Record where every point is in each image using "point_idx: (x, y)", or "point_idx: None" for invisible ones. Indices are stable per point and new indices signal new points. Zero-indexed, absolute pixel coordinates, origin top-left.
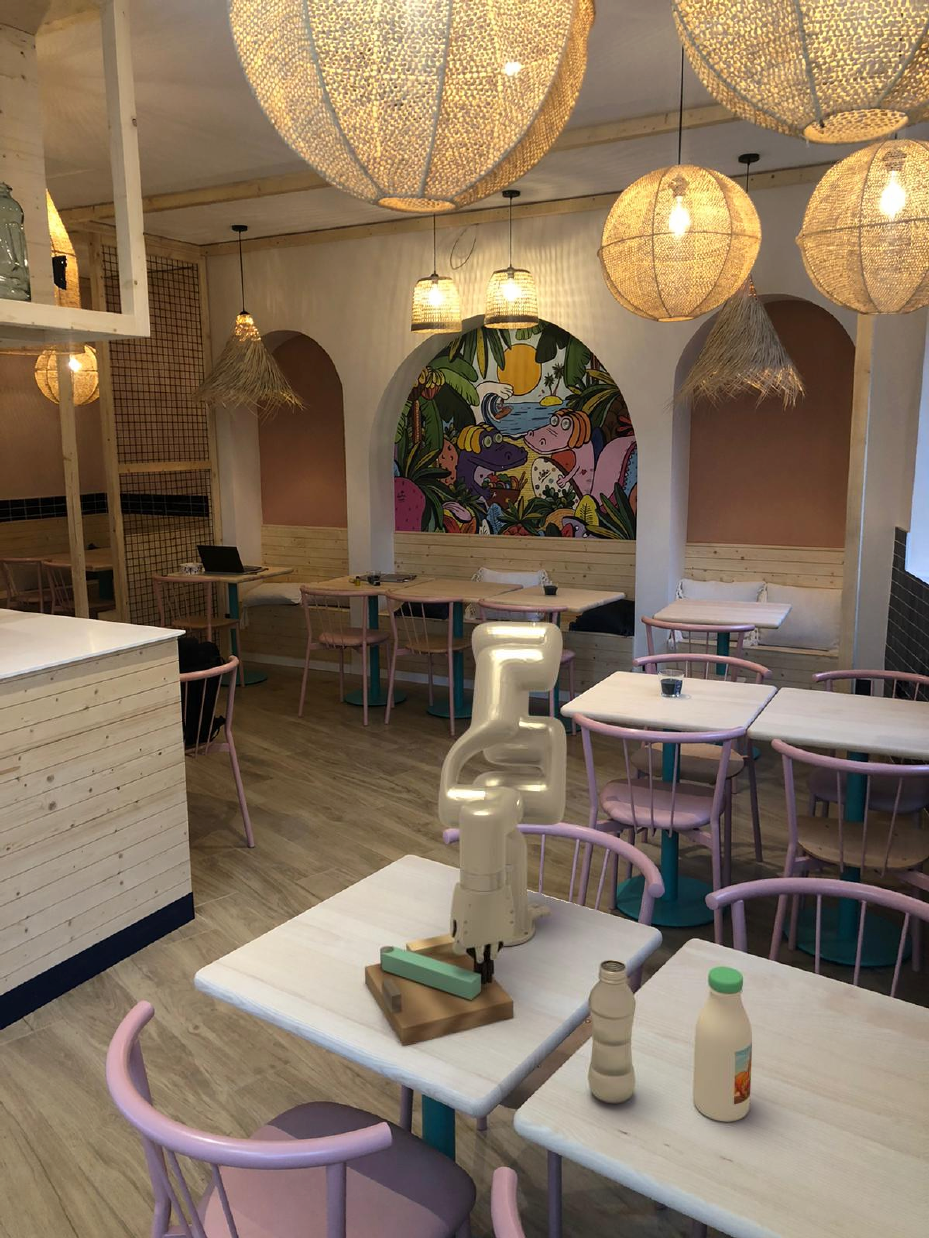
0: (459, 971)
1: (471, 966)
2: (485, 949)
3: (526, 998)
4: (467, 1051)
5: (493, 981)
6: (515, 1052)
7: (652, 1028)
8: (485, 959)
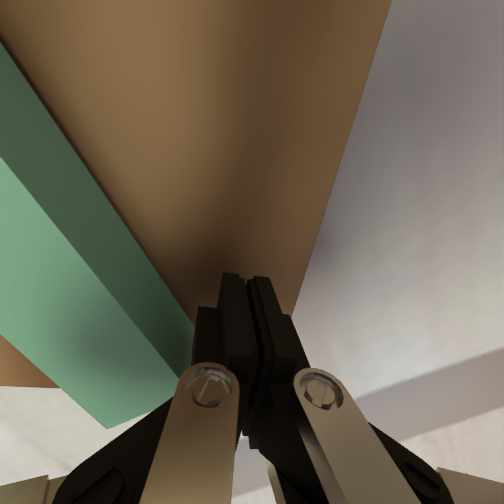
0: (92, 327)
1: (292, 115)
2: (295, 423)
3: (348, 300)
4: (72, 406)
5: (288, 282)
6: None
7: (437, 466)
8: (252, 413)
